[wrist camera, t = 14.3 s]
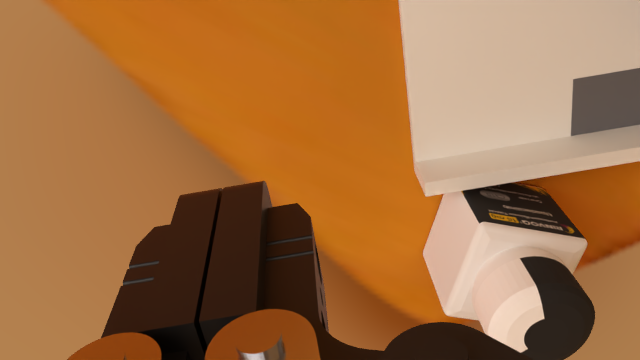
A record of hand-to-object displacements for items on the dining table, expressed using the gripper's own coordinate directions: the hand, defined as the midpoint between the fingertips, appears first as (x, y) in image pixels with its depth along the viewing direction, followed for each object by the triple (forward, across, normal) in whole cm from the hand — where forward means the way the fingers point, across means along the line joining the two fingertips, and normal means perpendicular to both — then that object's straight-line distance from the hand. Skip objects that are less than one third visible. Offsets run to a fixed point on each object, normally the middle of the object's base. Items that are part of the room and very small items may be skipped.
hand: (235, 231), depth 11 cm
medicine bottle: (+27, -12, +19) cm, 35 cm away
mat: (+27, -21, +11) cm, 36 cm away
